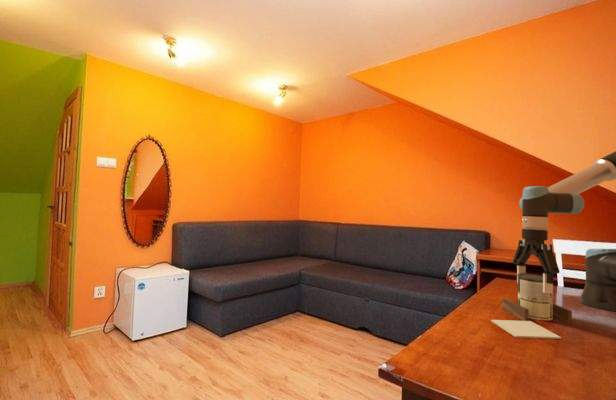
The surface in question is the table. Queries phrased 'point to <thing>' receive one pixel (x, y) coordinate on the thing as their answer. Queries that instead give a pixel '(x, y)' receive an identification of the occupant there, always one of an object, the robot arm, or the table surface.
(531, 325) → the mat
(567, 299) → the table surface
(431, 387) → the table surface
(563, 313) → the wooden bars
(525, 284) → the coffee can
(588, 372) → the table surface
